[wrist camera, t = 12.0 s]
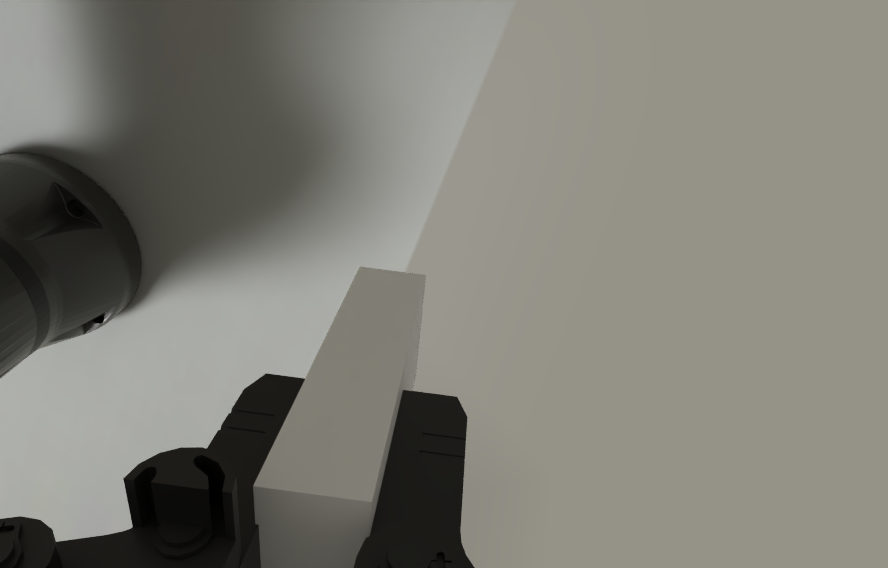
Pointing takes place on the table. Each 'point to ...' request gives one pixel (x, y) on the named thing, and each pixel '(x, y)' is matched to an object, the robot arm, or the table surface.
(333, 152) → the table surface
